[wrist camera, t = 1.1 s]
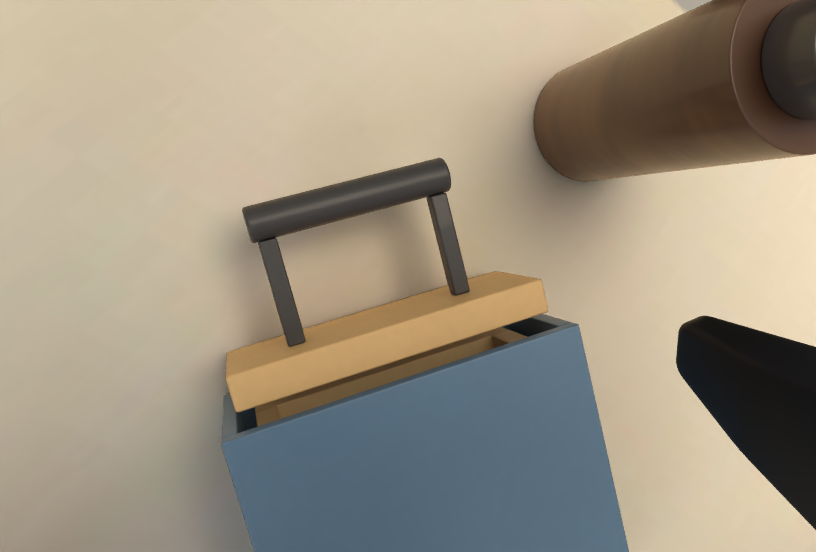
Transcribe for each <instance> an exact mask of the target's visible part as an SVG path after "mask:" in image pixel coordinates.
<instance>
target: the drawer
mask: <svg viewBox="0 0 816 552" xmlns="http://www.w3.org/2000/svg"><path fill="white" fill-rule="evenodd" d="M450 187H451V177H450V172H449V169H448V167H447V164H446V163H445V161H444V160H443V159H442V158H437V159H433V160H429V161H425V162H421V163H417V164H413V165H409V166H405V167H401V168H397V169H393V170H389V171H385V172H381V173H377V174H373V175H369V176H365V177H362V178H358V179H354V180H350V181H346V182H342V183H338V184H334V185H330V186H326V187H322V188H318V189H314V190H310V191H306V192H302V193H298V194H294V195H290V196H286V197H283V198H279V199H275V200H271V201H267V202H263V203H259V204H255V205H251V206H247V207H244V208H243V209H242V212H243V216H244V220H245V223H246V226H247V230H248V233H249V236H250V240H251V242H252V243H256V242H258V245H259V248H260V252H261V255H262V259H263V262H264V266H265V269H266V273H267V276H268V280H269V283H270V286H271V290H272V293H273V297H274V300H275V304H276V307H277V311H278V314H279V317H280V321H281V324H282V328H283V331H284V335H282V336H279V337H276V338H272V339H269V340H266V341H262V342H259V343H256V344H253V345H249V346H246V347H243V348H239V349H236V350H233V351H229V352H227V359H226V382H227V385H228V388H229V392H230V395H231V398H232V401H233V405H234V408H235V411H236V412H241V411H244V410H247V409H251V408H254V407H255V414H256V422H257V427H258V426H261V425H264V424H267V423H270V422H273V421H276V420H279V419H282V418H285V417H288V416H291V415H294V414H297V413H301V412H304V411H307V410H310V409H313V408H316V407H319V406H322V405H325V404H328V403H331V402H334V401H337V400H340V399H343V398H346V397H349V396H352V395H355V394H358V393H361V392H364V391H367V390H370V389H373V388H376V387H379V386H382V385H385V384H388V383H391V382H394V381H397V380H400V379H403V378H406V377H409V376H412V375H415V374H418V373H421V372H424V371H427V370H430V369H433V368H436V367H439V366H442V365H445V364H448V363H451V362H454V361H457V360H460V359H463V358H466V357H469V356H472V355H475V354H478V353H481V352H484V351H487V350H490V349H493V348H496V347H499V346H502V345H505V344H508V343H511V342H514V341H517V340H520V339H523V338H526V337H527V336H524V335H521V334H519V333H516V332H514V331H511V330H508V329H505V328H503V326H506V325H509V324H512V323H515V322H518V321H522V320H525V319H528V318H531V317H534V316H537V315H540V314H543V313H546V312H548V307H547V302H546V298H545V294H544V289H543V285H542V281H541V279H537V278H531V277H526V276H520V275H515V274H509V273H504V272H498V271H494V272H491V273H487V274H484V275H481V276H477V277H474V278H471V279H467V276H466V272H465V268H464V264H463V260H462V256H461V252H460V248H459V243H458V239H457V235H456V231H455V227H454V223H453V219H452V215H451V211H450V207H449V203H448V198H447V194H446V193H444V192H447V191H449V190H450ZM425 197H427V202H428V206H429V210H430V214H431V218H432V222H433V226H434V230H435V234H436V238H437V242H438V246H439V250H440V254H441V258H442V262H443V266H444V270H445V274H446V278H447V282H448V286H444V287H441V288H438V289H434V290H431V291H428V292H424V293H421V294H418V295H415V296H411V297H408V298H405V299H401V300H398V301H395V302H391V303H388V304H385V305H381V306H378V307H375V308H372V309H368V310H365V311H362V312H358V313H355V314H352V315H348V316H345V317H342V318H338V319H335V320H332V321H329V322H325V323H322V324H319V325H315V326H312V327H309V328H305V329H302V326H301V322H300V319H299V315H298V312H297V308H296V305H295V301H294V298H293V294H292V291H291V287H290V284H289V280H288V277H287V273H286V270H285V266H284V263H283V259H282V256H281V252H280V249H279V245H278V242H277V239H276V238H275V237H279V236H283V235H286V234H290V233H294V232H298V231H301V230H305V229H309V228H313V227H316V226H320V225H324V224H328V223H331V222H335V221H339V220H343V219H346V218H350V217H354V216H358V215H361V214H365V213H369V212H373V211H376V210H380V209H384V208H388V207H391V206H395V205H399V204H403V203H406V202H410V201H414V200H418V199H421V198H425Z"/></svg>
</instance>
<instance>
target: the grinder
mask: <svg viewBox="0 0 816 552" xmlns="http://www.w3.org/2000/svg"><path fill="white" fill-rule="evenodd" d="M534 131H535V136H536V140H537V143H538V146H539V148H540V151H541V153H542V154H543V156H544V158H545V159H546V160H547V162H548V163H549V164H550V165H551V166H552V167H553V168H554V169H555V170H556V171H558V172H559V173H560V174H562V175H564V176H566V177H568V178H571V179H574V180H578V181H595V180H603V179H612V178H620V177H628V176H637V175H645V174H654V173H662V172H670V171H679V170H687V169H696V168H704V167H712V166H721V165H729V164H738V163H746V162H755V161H763V160H771V159H780V158H788V157H797V156H805V155H813V154H816V0H712V1H710V2H708V3H706V4H704V5H702V6H700V7H697V8H695V9H693V10H691V11H689V12H687V13H685V14H682V15H680V16H678V17H676V18H674V19H672V20H669V21H667V22H665V23H663V24H661V25H659V26H657V27H654V28H652V29H650V30H648V31H646V32H644V33H641V34H639V35H637V36H635V37H633V38H631V39H629V40H626V41H624V42H622V43H620V44H618V45H616V46H613V47H611V48H609V49H607V50H605V51H603V52H601V53H598V54H596V55H594V56H592V57H590V58H588V59H586V60H583V61H581V62H579V63H577V64H575V65H573V66H570V67H568V68H566V69H564V70H562V71H560V72H559V73H558V74H556V75H555V76H554V77H553V78H552V79H551V80H550V81H549V82H548V83H547V84H546V85H545V87H544V89H543V90H542V92H541V94H540V96H539V98H538V101H537V104H536V108H535V113H534Z"/></svg>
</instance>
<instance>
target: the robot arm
mask: <svg viewBox="0 0 816 552" xmlns="http://www.w3.org/2000/svg"><path fill="white" fill-rule="evenodd" d="M676 364H677V368H678V371H679V373H680V374H681V376H682V377H683V379H684V380H685V381H686V383H687V384H688V385H689V386H690V388H691V389H692V390H693V392H694V393H695V394H696V395H697V397H698V398H699V399H700V400H701V402H702V403H703V404H704V406H705V407H706V408H707V409H708V411H709V412H710V413H711V414H712V416H713V417H714V418H715V420H716V421H717V422H718V423H719V425H720V426H721V427H722V429H723V430H724V431H725V432H726V434H727V435H728V436H729V437H730V439H731V440H732V441H733V442H734V444H735V445H736V446H737V447H738V448H739V450H740V451H741V452H742V453H743V454H744V455H745V456H746V457H747V458H748V460H749V461H750V462H751V463H752V464H753V465H754V466H755V467H756V468H757V469H758V470H759V471H760V472H761V473H762V474H763V475H764V476H765V477H766V479H767V480H768V481H769V482H770V483H771V484H772V485H773V486H774V487H775V488H776V489H777V490H778V491H779V492H780V493H781V494H782V495H783V496H784V497H785V498H786V499H787V500H788V501H789V503H790V504H791V505H792V506H793V507H794V508H795V509H796V510H797V511H798V512H799V513H800V514H801V515H802V516H803V517H804V518H805V519H806V520H807V521H808V522H809V523H810V524H811V525H812V527H813V528H814V529H815V530H816V347H814V346H810V345H807V344H804V343H800V342H797V341H793V340H790V339H786V338H783V337H779V336H776V335H772V334H769V333H765V332H762V331H759V330H755V329H752V328H748V327H745V326H741V325H738V324H734V323H731V322H727V321H724V320H721V319H717V318H714V317H710V316H700V317H697V318H695V319H693V320H691V321H688V322H686V323H684V324H683V325H682V326H681V327H680V329H679V334H678V345H677V356H676Z"/></svg>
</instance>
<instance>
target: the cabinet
mask: <svg viewBox="0 0 816 552" xmlns="http://www.w3.org/2000/svg"><path fill="white" fill-rule="evenodd" d="M503 328H505V329H508V330H511V331H514V332H516V333H519V334H521V335H524V336H527V337H526V338H523V339H520V340H517V341H514V342H511V343H508V344H505V345H502V346H499V347H496V348H493V349H490V350H487V351H484V352H481V353H478V354H475V355H472V356H469V357H466V358H463V359H460V360H457V361H454V362H451V363H448V364H445V365H442V366H439V367H436V368H433V369H430V370H427V371H424V372H421V373H418V374H415V375H412V376H409V377H406V378H403V379H400V380H397V381H394V382H391V383H388V384H385V385H382V386H379V387H376V388H373V389H370V390H367V391H364V392H361V393H358V394H355V395H352V396H349V397H346V398H343V399H340V400H337V401H334V402H331V403H328V404H325V405H322V406H319V407H316V408H313V409H310V410H307V411H304V412H301V413H297V414H294V415H291V416H288V417H285V418H282V419H279V420H276V421H273V422H270V423H267V424H264V425H261V426H258V427H257V422H256V414H255V407H254V408H251V409H247V410H244V411H241V412H236V411H235V408H234V405H233V401H232V398H231V395H230V394H229V395H226V396H224V402H223V422H222V442H221V445H222V448H223V452H224V455H225V458H226V461H227V465H228V468H229V471H230V474H231V477H232V481H233V484H234V487H235V490H236V493H237V497H238V500H239V503H240V506H241V509H242V513H243V516H244V519H245V522H246V525H247V529H248V532H249V535H250V538H251V541H252V545H253V548H254V551H255V552H629V550H628V545H627V541H626V536H625V532H624V527H623V523H622V518H621V514H620V509H619V505H618V500H617V496H616V491H615V487H614V482H613V478H612V473H611V468H610V464H609V459H608V455H607V450H606V446H605V441H604V437H603V432H602V428H601V423H600V419H599V414H598V410H597V405H596V401H595V396H594V392H593V387H592V383H591V378H590V374H589V369H588V365H587V360H586V356H585V351H584V347H583V342H582V338H581V333H580V329H579V325H578V324H575V323H571V322H568V321H565V320H561V319H558V318H554V317H551V316H547V315H544V314H540V315H537V316H534V317H531V318H528V319H525V320H522V321H518V322H515V323H512V324H509V325H506V326H503Z"/></svg>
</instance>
